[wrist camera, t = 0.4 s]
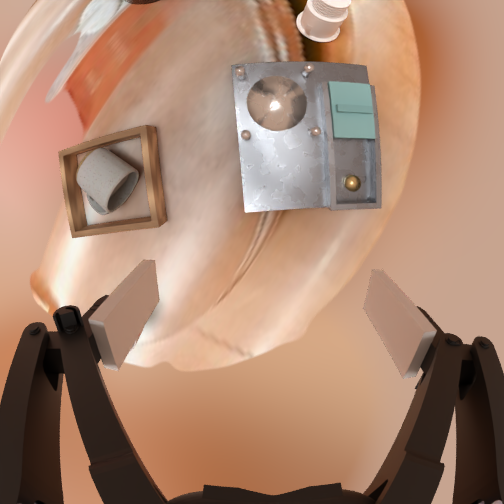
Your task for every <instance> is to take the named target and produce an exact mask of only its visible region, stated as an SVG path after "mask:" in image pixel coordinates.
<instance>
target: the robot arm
mask: <svg viewBox="0 0 504 504" xmlns="http://www.w3.org/2000/svg"><path fill="white" fill-rule="evenodd" d="M125 1H127V2H129V3H133V4H146V3H151V2H155V1H159V0H125ZM158 302H159V292H158V284H157V275H156V266H155V260H143V261H142V262H141V263H140V264H139V265H138V266H137V267H136V268H135V269H134V270H133V271H132V272H131V273H130V274H129V275H128V276H127V277H126V278H125V279H124V280H123V281H122V283H121V284H120V285H119V286H118V287H117V288H116V289H115V290H114V291H113V292H112V293H111V294H110V295H105V296H103V297H101V298H100V299H98V300H97V301H96V302H95V303H94V304H93V306H92V307H91V308H90V309H89V310H88V311H87V312H86V313H85V314H84V315H83V316H82V317H81V314H80V310H79V308H78V307H76V306H71V305H69V306H64V307H61V308H59V309H58V310H56V311H55V312H54V314H53V319H54V321H55V324H56V326H57V330H58V331H57V332H48V331H47V328H46V326H45V324H44V323H41V322H36V323H32V324H30V325H28V326H27V327H26V328H25V329H24V331H23V333H22V336H21V338H20V341H19V344H18V347H17V349H16V352H15V355H14V358H13V361H12V364H11V367H10V370H9V374H8V377H7V380H6V384H5V388H4V391H3V395H2V399H1V404H0V504H64V501H63V491H62V481H61V468H60V443H59V442H60V441H59V439H60V438H59V437H60V407H61V392H62V383H63V374H65V377H66V382H67V386H68V391H69V395H70V400H71V403H72V407H73V411H74V415H75V418H76V422H77V425H78V428H79V431H80V434H81V437H82V440H83V443H84V446H85V449H86V452H87V454H88V457H89V460H90V463H91V465H90V466H89V471H90V474H91V477H92V479H93V481H94V483H95V486H96V488H97V490H98V492H99V494H100V497H101V499H102V501H103V503H104V504H431V502H432V500H433V497H434V495H435V493H436V490H437V488H438V485H439V482H440V480H441V477H442V474H443V471H444V463H440V460H441V456H442V453H443V450H444V447H445V443H446V440H447V436H448V433H449V429H450V425H451V421H452V416H453V412H454V407H455V411H456V438H457V440H456V443H457V444H456V472H455V484H454V493H453V503H452V504H504V373H503V370H502V367H501V364H500V361H499V359H498V356H497V353H496V350H495V348H494V345H493V344H492V342H491V341H490V340H489V339H487V338H486V337H476V338H475V339H474V341H473V343H472V345H468V344H463V342H462V340H461V339H460V338H459V337H457V336H456V335H454V334H450V333H444V332H443V331H442V330H441V329H440V327H439V326H438V325H437V324H436V323H435V322H433V319H432V318H431V317H430V316H429V315H428V314H427V313H426V311H425V310H423V309H421V308H420V307H418V306H415V305H414V303H413V302H412V301H411V300H410V299H409V298H408V297H407V295H406V294H405V293H404V292H403V291H402V290H401V289H400V288H399V287H398V286H397V284H396V283H395V282H393V280H392V279H391V278H390V277H389V276H388V275H387V274H386V273H385V272H384V271H383V270H372V273H371V277H370V282H369V286H368V291H367V295H366V299H365V303H364V307H363V309H364V310H365V312H366V314H367V315H368V317H369V319H370V321H371V322H372V324H373V326H374V327H375V329H376V331H377V332H378V334H379V336H380V337H381V339H382V341H383V343H384V345H385V347H386V348H387V350H388V352H389V354H390V355H391V357H392V359H393V361H394V363H395V365H396V366H397V368H398V370H399V372H400V374H401V376H402V378H403V379H404V378H410V377H415V376H416V375H417V373H418V371H419V369H420V367H421V369H422V370H423V372H424V373H423V374H422V376H421V378H420V380H419V382H418V384H417V386H416V387H415V389H417V390H416V392H415V395H414V398H413V400H412V403H411V406H410V408H409V410H408V413H407V415H406V418H405V420H404V422H403V424H402V427H401V429H400V431H399V433H398V435H397V438H396V440H395V442H394V444H393V446H392V448H391V450H390V452H389V453H388V455H387V457H386V459H385V461H384V463H383V465H382V466H381V468H380V470H379V472H378V473H377V475H376V477H375V478H374V480H373V482H372V483H371V485H370V486H369V487H368V489H367V490H366V491H365V492H364V493H363V494H361V493H359V492H355V491H350V490H343V489H342V488H341V483H335V484H328V485H319V486H310V487H306V488H303V489H299V490H296V491H292V492H288V493H284V494H280V495H266V494H262V493H258V492H253V491H249V490H245V489H241V488H233V487H221V486H211V485H204V489H203V491H199V492H193V493H188V494H184V495H181V496H178V497H176V498H173V499H172V500H169V501H167V499H166V498H165V496H164V495H163V494H162V492H161V491H160V489H159V488H158V486H157V485H156V484H155V482H154V480H153V479H152V477H151V476H150V474H149V472H148V471H147V469H146V468H145V466H144V464H143V462H142V461H141V459H140V457H139V456H138V454H137V452H136V450H135V448H134V446H133V444H132V443H131V441H130V439H129V437H128V435H127V433H126V431H125V429H124V427H123V425H122V422H121V420H120V418H119V416H118V414H117V412H116V410H115V407H114V405H113V402H112V400H111V398H110V395H109V393H108V390H107V388H106V385H105V383H104V380H103V378H102V375H101V372H100V369H99V367H98V362H99V361H100V359H101V360H102V362H103V365H104V367H105V368H108V369H113V370H117V371H118V370H119V368H120V367H121V365H122V363H123V362H124V360H125V358H126V356H127V354H128V353H129V351H130V349H131V347H132V346H133V344H134V342H135V341H136V339H137V337H138V335H139V334H140V332H141V330H142V329H143V327H144V325H145V324H146V322H147V320H148V319H149V317H150V315H151V314H152V312H153V310H154V309H155V307H156V305H157V304H158Z"/></svg>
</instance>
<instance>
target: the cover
mask: <svg viewBox="0 0 504 504" xmlns="http://www.w3.org/2000/svg"><path fill="white" fill-rule="evenodd" d="M328 91H329V99H330V109H331V119H332V130H333V138H357V139H376V138H375V125H374V114H373V105H372V96H371V89H370V84H361V83H350V82H334V81H329V82H328Z"/></svg>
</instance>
